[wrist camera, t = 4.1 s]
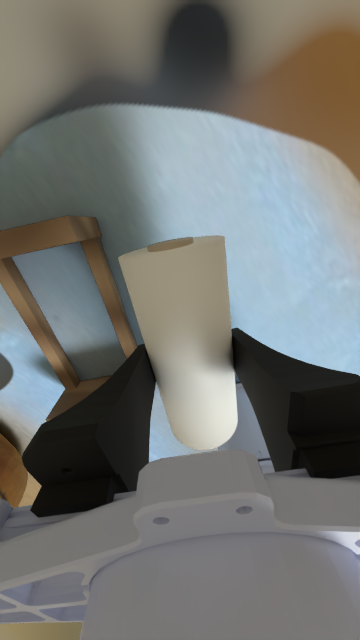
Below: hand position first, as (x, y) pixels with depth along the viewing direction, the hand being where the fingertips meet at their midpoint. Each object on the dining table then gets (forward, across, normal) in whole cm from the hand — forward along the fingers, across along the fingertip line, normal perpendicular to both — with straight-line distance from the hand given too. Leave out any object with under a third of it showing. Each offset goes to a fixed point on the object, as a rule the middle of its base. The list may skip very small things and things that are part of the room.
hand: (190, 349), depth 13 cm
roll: (0, 0, 0) cm, 1 cm away
